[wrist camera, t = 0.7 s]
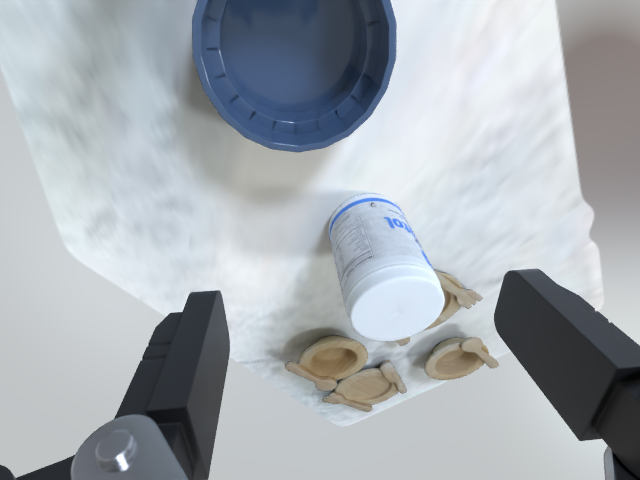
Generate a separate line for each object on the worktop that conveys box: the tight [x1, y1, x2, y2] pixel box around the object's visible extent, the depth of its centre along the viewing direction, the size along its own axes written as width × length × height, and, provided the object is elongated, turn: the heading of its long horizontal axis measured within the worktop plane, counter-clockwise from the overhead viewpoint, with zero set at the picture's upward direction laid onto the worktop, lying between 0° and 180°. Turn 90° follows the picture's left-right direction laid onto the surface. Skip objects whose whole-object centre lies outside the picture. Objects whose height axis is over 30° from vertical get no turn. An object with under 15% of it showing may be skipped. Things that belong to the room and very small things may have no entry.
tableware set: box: [285, 270, 499, 412], centre depth 62 cm, size 35×29×4 cm
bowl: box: [192, 0, 397, 152], centre depth 29 cm, size 15×15×6 cm
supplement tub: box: [329, 194, 445, 341], centre depth 40 cm, size 10×10×15 cm
